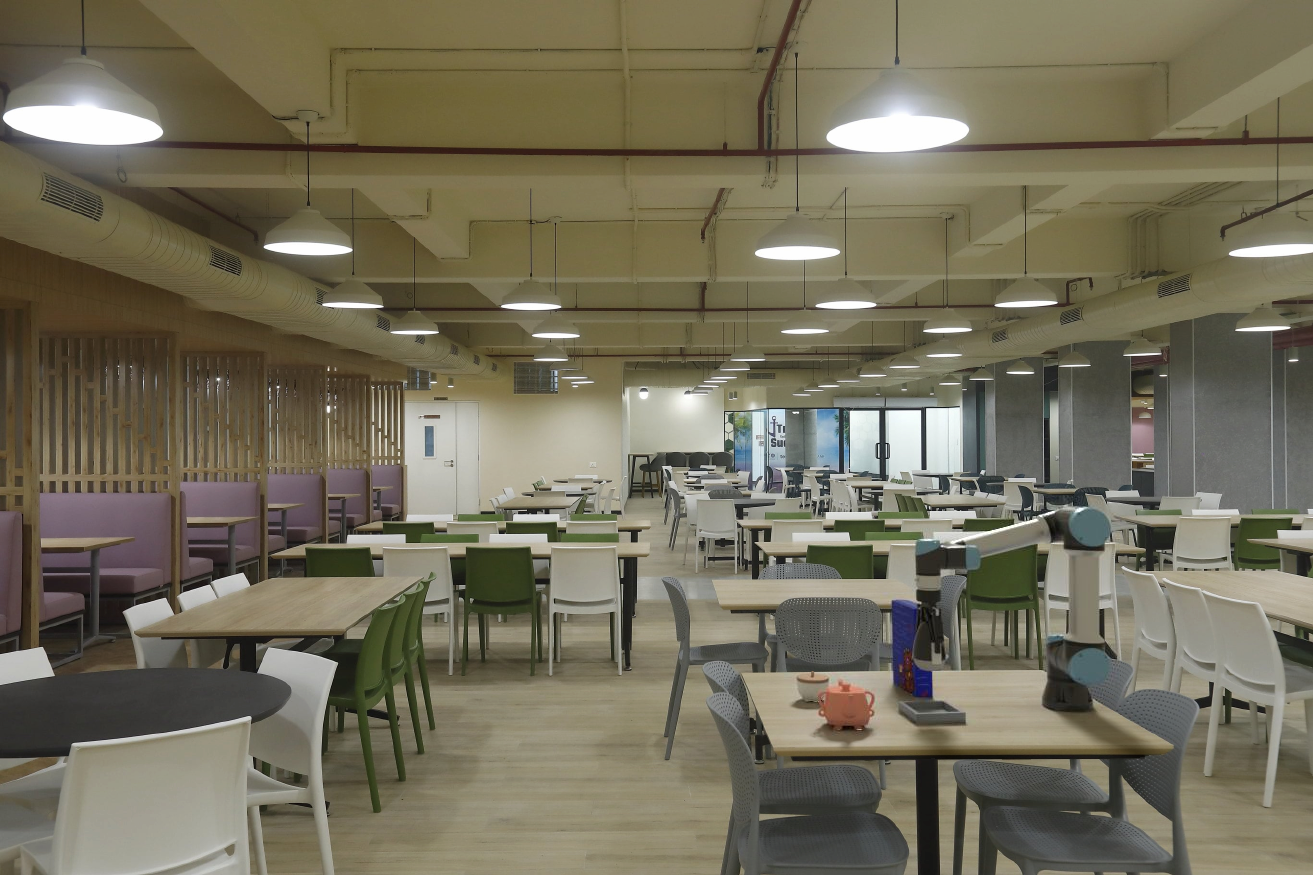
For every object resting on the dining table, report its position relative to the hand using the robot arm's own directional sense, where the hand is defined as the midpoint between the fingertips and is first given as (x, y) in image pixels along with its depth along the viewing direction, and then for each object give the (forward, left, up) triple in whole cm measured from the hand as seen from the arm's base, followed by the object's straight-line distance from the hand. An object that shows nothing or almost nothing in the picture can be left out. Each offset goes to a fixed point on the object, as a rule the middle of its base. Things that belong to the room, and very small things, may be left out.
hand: (929, 660), depth 280 cm
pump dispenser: (0, 0, -3) cm, 3 cm away
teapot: (+29, +7, -18) cm, 35 cm away
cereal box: (-7, -35, -18) cm, 40 cm away
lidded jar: (+31, -25, -18) cm, 43 cm away
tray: (0, 0, -17) cm, 17 cm away
